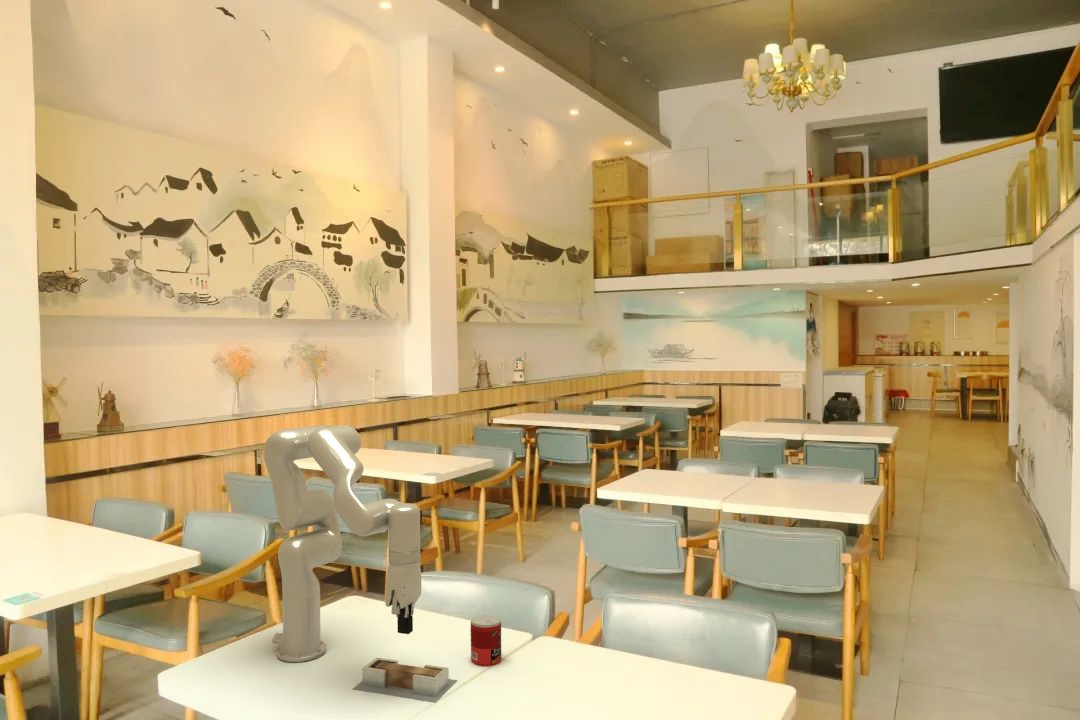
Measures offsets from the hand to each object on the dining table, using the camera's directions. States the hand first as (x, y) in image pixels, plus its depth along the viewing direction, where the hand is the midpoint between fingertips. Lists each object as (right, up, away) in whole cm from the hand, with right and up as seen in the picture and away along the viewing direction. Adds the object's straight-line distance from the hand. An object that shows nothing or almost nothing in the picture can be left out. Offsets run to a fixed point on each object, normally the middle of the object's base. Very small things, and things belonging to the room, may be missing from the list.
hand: (405, 632), depth 178 cm
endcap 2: (+6, -13, -2) cm, 14 cm away
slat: (+1, -13, 0) cm, 13 cm away
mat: (0, -13, 0) cm, 13 cm away
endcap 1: (-6, -13, +2) cm, 14 cm away
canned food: (+18, -13, +14) cm, 27 cm away
